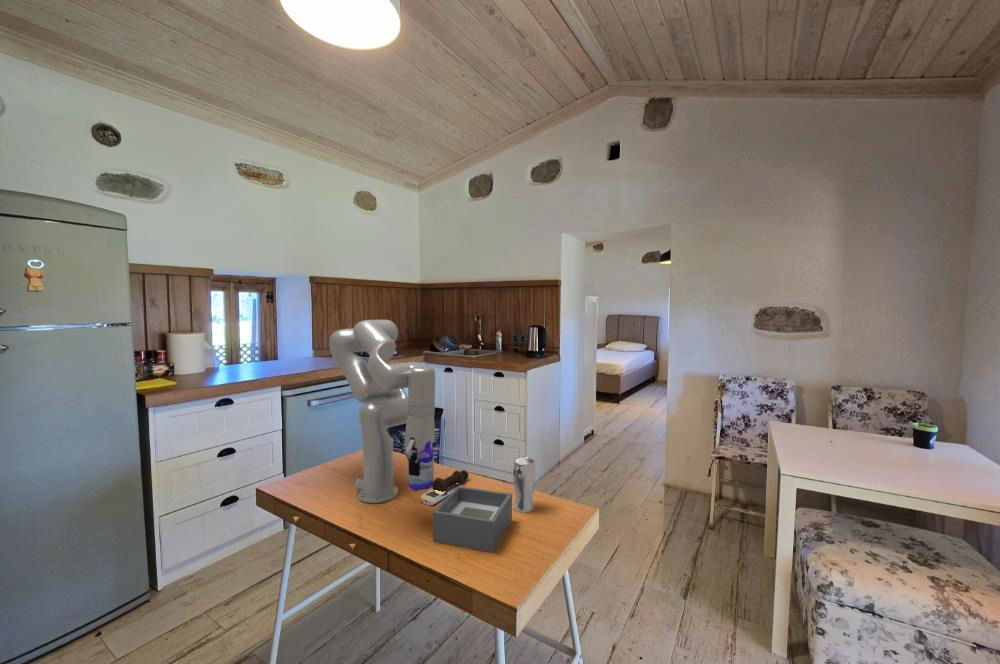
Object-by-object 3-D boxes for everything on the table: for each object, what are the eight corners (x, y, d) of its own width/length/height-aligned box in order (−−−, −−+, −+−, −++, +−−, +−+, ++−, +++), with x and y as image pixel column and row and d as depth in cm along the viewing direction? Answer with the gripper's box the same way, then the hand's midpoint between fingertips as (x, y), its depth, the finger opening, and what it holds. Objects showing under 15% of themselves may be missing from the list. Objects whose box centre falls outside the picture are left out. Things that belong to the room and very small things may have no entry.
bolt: (467, 484, 151) (439, 499, 139) (457, 475, 154) (429, 488, 141) (473, 472, 150) (446, 486, 137) (464, 463, 152) (436, 475, 139)
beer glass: (508, 508, 130) (508, 460, 129) (522, 500, 135) (522, 455, 134) (525, 515, 125) (525, 466, 124) (539, 507, 130) (540, 460, 129)
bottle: (409, 493, 117) (410, 433, 116) (406, 485, 123) (406, 427, 121) (435, 489, 120) (436, 430, 119) (430, 481, 126) (431, 424, 124)
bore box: (432, 541, 111) (432, 512, 111) (458, 511, 127) (458, 486, 127) (493, 552, 106) (493, 522, 106) (511, 520, 122) (512, 493, 122)
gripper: (424, 401, 129) (423, 457, 130) (393, 416, 112) (393, 480, 114) (446, 403, 127) (445, 461, 128) (418, 419, 110) (417, 484, 112)
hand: (420, 469), depth 121 cm, fingers closed on bottle, 6 cm apart
